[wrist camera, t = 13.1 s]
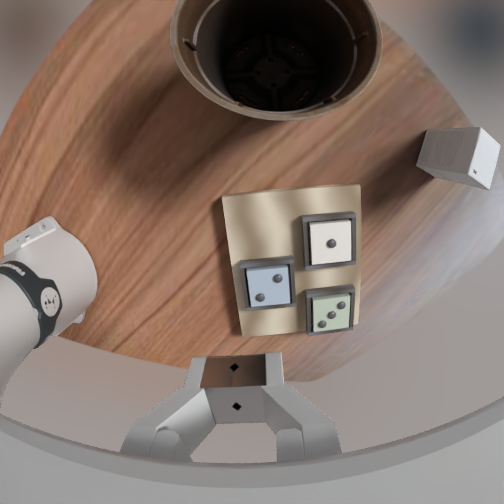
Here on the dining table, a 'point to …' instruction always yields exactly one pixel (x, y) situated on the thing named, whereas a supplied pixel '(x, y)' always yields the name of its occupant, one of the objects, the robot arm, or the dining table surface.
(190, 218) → the dining table surface
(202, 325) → the dining table surface
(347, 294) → the three dot key
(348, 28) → the plant pot
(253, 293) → the two dot key
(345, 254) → the one dot key
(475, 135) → the skincare box
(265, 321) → the key board
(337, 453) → the robot arm
